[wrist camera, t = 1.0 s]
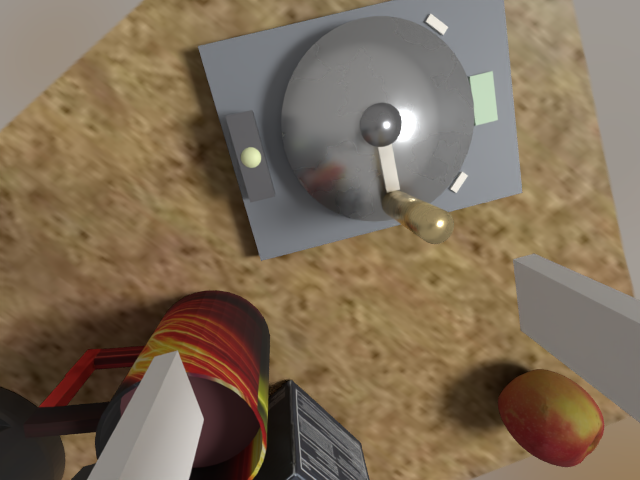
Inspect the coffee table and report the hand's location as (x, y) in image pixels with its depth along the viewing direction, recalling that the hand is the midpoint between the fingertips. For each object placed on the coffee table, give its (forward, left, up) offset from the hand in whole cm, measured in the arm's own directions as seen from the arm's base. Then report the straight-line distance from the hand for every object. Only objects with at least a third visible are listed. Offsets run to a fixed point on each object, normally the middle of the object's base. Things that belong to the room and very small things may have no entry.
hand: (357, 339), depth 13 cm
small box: (-6, -20, -20) cm, 29 cm away
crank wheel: (+6, +6, -18) cm, 20 cm away
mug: (-13, -9, -20) cm, 26 cm away
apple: (+16, -22, -20) cm, 34 cm away
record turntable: (+6, +6, -20) cm, 22 cm away
